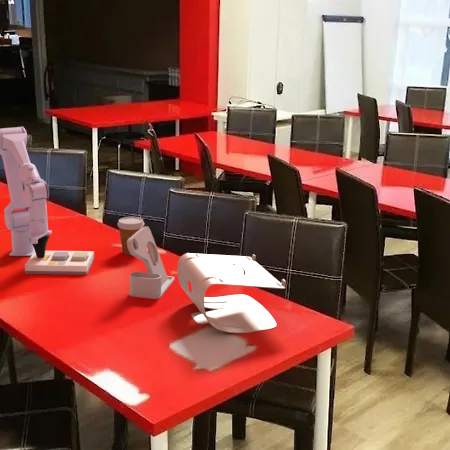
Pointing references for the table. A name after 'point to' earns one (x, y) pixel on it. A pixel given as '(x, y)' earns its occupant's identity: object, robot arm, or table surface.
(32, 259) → the key ochre
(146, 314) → the table surface
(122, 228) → the disposable coffee cup
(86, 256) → the key sage
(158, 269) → the phone holder
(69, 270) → the keyguard panel
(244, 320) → the portable electronic device stand
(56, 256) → the key slate
